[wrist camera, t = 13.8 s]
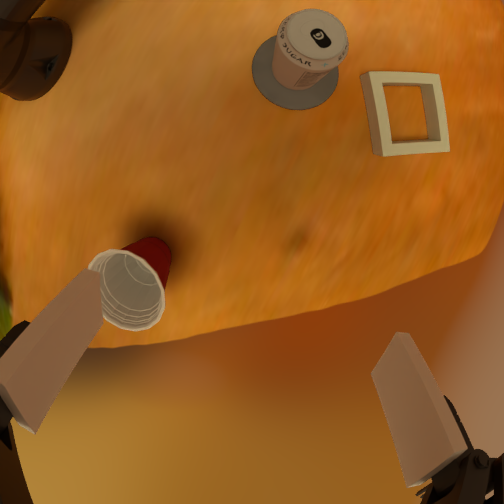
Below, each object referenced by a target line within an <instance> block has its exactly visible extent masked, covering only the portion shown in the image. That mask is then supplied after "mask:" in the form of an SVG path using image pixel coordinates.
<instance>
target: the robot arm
mask: <svg viewBox="0 0 504 504" xmlns="http://www.w3.org/2000/svg"><path fill="white" fill-rule="evenodd" d="M44 2H45V0H0V92H1V93H3V94H5V95H8V96H10V97H11V98H13V99H15V100H19V101H31V100H35V99H37V98H39V97H41V96H43V95H44V94H45V93H46V92H48V91H49V90H50V89H51V88H52V86H53V85H54V84H55V83H56V81H57V80H58V79H59V77H60V75H61V74H62V72H63V70H64V68H65V66H66V64H67V61H68V58H69V55H70V51H71V45H72V35H71V30H70V28H69V26H68V24H67V23H66V22H64V21H63V20H60V19H58V18H55V17H40V18H32V19H30V18H31V17H32V15H33V14H34V13H35V12H36V11H37V9H38V8H39V7H40V6H41V5H42V4H43V3H44ZM102 325H103V315H102V304H101V290H100V273H99V272H96V271H92V270H89V269H84V270H82V271H81V272H80V273H79V274H78V275H77V276H76V277H75V278H74V279H73V280H72V281H71V282H70V283H69V284H68V285H67V286H66V287H65V288H64V289H63V290H62V291H61V292H60V293H59V294H58V295H57V296H56V297H55V298H54V299H53V300H52V301H51V302H50V303H49V304H48V305H47V306H46V307H45V308H44V309H43V310H42V311H41V313H40V314H39V315H38V316H37V317H36V318H35V319H34V320H33V321H32V322H31V323H30V322H28V321H25V320H24V321H23V322H21V323H19V324H17V325H15V326H14V327H13V328H12V329H11V330H10V331H9V332H8V333H7V334H6V337H4V338H3V339H2V340H1V341H0V504H33V501H32V499H31V496H30V493H29V490H28V487H27V484H26V481H25V478H24V475H23V471H22V468H21V464H20V460H19V457H18V453H17V448H16V444H15V439H14V435H13V429H12V425H11V423H10V420H11V419H12V417H14V418H15V420H16V421H17V422H18V424H19V425H20V426H22V427H23V428H25V429H27V430H28V431H30V432H32V433H33V434H36V432H37V431H38V429H39V427H40V425H41V423H42V421H43V419H44V418H45V416H46V414H47V412H48V410H49V409H50V407H51V405H52V403H53V402H54V400H55V398H56V397H57V395H58V393H59V392H60V390H61V388H62V386H63V385H64V383H65V381H66V380H67V378H68V377H69V375H70V373H71V372H72V370H73V369H74V367H75V365H76V364H77V362H78V361H79V359H80V357H81V356H82V354H83V353H84V351H85V350H86V348H87V347H88V345H89V344H90V342H91V341H92V339H93V338H94V336H95V335H96V333H97V332H98V330H99V329H100V327H101V326H102ZM371 375H372V378H373V381H374V384H375V387H376V390H377V393H378V395H379V398H380V401H381V404H382V407H383V410H384V413H385V416H386V419H387V422H388V425H389V428H390V432H391V435H392V438H393V441H394V444H395V448H396V451H397V454H398V458H399V461H400V464H401V468H402V472H403V476H404V479H405V483H406V487H407V488H409V487H413V486H417V485H421V484H422V483H424V482H425V481H427V480H428V479H430V478H432V483H430V484H429V485H427V486H426V487H424V488H423V489H421V490H420V491H418V492H417V494H416V496H418V495H420V494H422V493H423V492H425V491H426V492H425V494H423V495H422V496H421V497H420V498H422V501H421V503H420V504H504V453H503V454H502V455H501V456H500V457H498V458H489V456H488V455H487V453H485V452H484V451H483V450H480V449H475V450H474V448H473V446H472V444H471V442H470V440H469V438H468V435H467V433H466V431H465V429H464V426H463V425H462V423H461V422H460V418H459V416H458V415H457V412H456V410H455V408H454V406H453V404H452V403H451V402H450V400H449V399H448V398H447V397H446V396H445V395H444V396H443V394H442V392H441V390H440V388H439V386H438V385H437V383H436V381H435V379H434V377H433V375H432V373H431V371H430V370H429V368H428V366H427V364H426V362H425V360H424V359H423V357H422V355H421V353H420V352H419V350H418V348H417V346H416V345H415V343H414V341H413V339H412V338H411V336H410V334H409V333H401V332H396V334H395V335H394V337H393V339H392V340H391V342H390V344H389V346H388V347H387V349H386V350H385V352H384V354H383V355H382V357H381V358H380V360H379V362H378V363H377V365H376V366H375V368H374V370H373V371H372V373H371ZM492 490H494V495H493V496H492V497H490V498H489V499H487V500H486V499H485V495H486V494H488V493H489V492H491V491H492Z"/></svg>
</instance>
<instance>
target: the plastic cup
mask: <svg viewBox="0 0 504 504" xmlns="http://www.w3.org/2000/svg"><path fill="white" fill-rule="evenodd" d="M170 264H171V252H170V250H169V247H168V246H167V245H166V244H165V242H164V241H162V240H160V239H158V238H156V237H147V238H144V239H141V240H139V241H137V242H135V243H132V244H130V245H128V246H126V247H124V248H122V249H120V250H119V249H110V250H107V251H105V252H102V253H99V254H97V255H96V257H95V258H94V259H93V260H92V261H91V263H90V264H89V266H88V269H89V270H92V271H96V272H99V273H100V290H101V304H102V315H103V317H104V318H105V319H106V320H107V321H108V322H110V323H112V324H114V325H115V326H117V327H119V328H121V329H126V330H131V331H140V330H145V329H149V328H151V327H152V326H153V325H154V324H156V323H157V322H158V321H159V320H160V318H161V316H162V313H163V311H164V309H165V287H166V283H167V279H168V275H169V268H170Z"/></svg>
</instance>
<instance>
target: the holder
mask: <svg viewBox="0 0 504 504" xmlns="http://www.w3.org/2000/svg"><path fill="white" fill-rule="evenodd" d="M360 79H361V84H362V89H363V94H364V99H365V104H366V110H367V115H368V121H369V128H370V134H371V141H372V149H373V154H375V155H379V156H394V155H405V154H418V153H434V152H450V147H449V136H448V127H447V118H446V111H445V105H444V98H443V93H442V87H441V82H440V77H439V74H430V73H415V72H388V71H370V72H367V73H365V74H363V75H361V76H360ZM383 86H420V87H421V93H422V98H423V104H424V110H425V117H426V124H427V132H428V139H425V140H406V141H392V139H391V132H390V125H389V118H388V112H387V106H386V101H385V95H384V90H383Z"/></svg>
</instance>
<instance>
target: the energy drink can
mask: <svg viewBox="0 0 504 504" xmlns="http://www.w3.org/2000/svg"><path fill="white" fill-rule="evenodd" d="M348 45H349V43H348V37H347V33H346V30H345V28H344V26H343V24H342V23H341V22H340V21H339V20H338V19H337V18H336V17H335V16H333V15H332V14H330V13H328V12H326V11H323V10H319V9H305V10H302V11H299V12H296V13H293V14H291V15H289V16H288V17H286V18H285V19H284V20H283V21H282V23H281V24H280V26H279V29H278V32H277V38H276V44H275V50H274V56H273V62H272V72H273V75H274V77H275V78H276V80H277V81H278V82H279V83H280V84H281V85H283V86H284V87H286V88H288V89H292V90H304V89H308V88H310V87H312V86H313V85H314V84H316V83H317V82H318V81H319V80H320V79H322V78H323V77H324V76H325V75H326V74H328V73H329V72H330V71H331V70H333V69H334V68H335V67H336V66H338V65H339V64H340V63H341V62H342V61H343V60H344V58H345V57H346V55H347V52H348Z"/></svg>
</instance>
